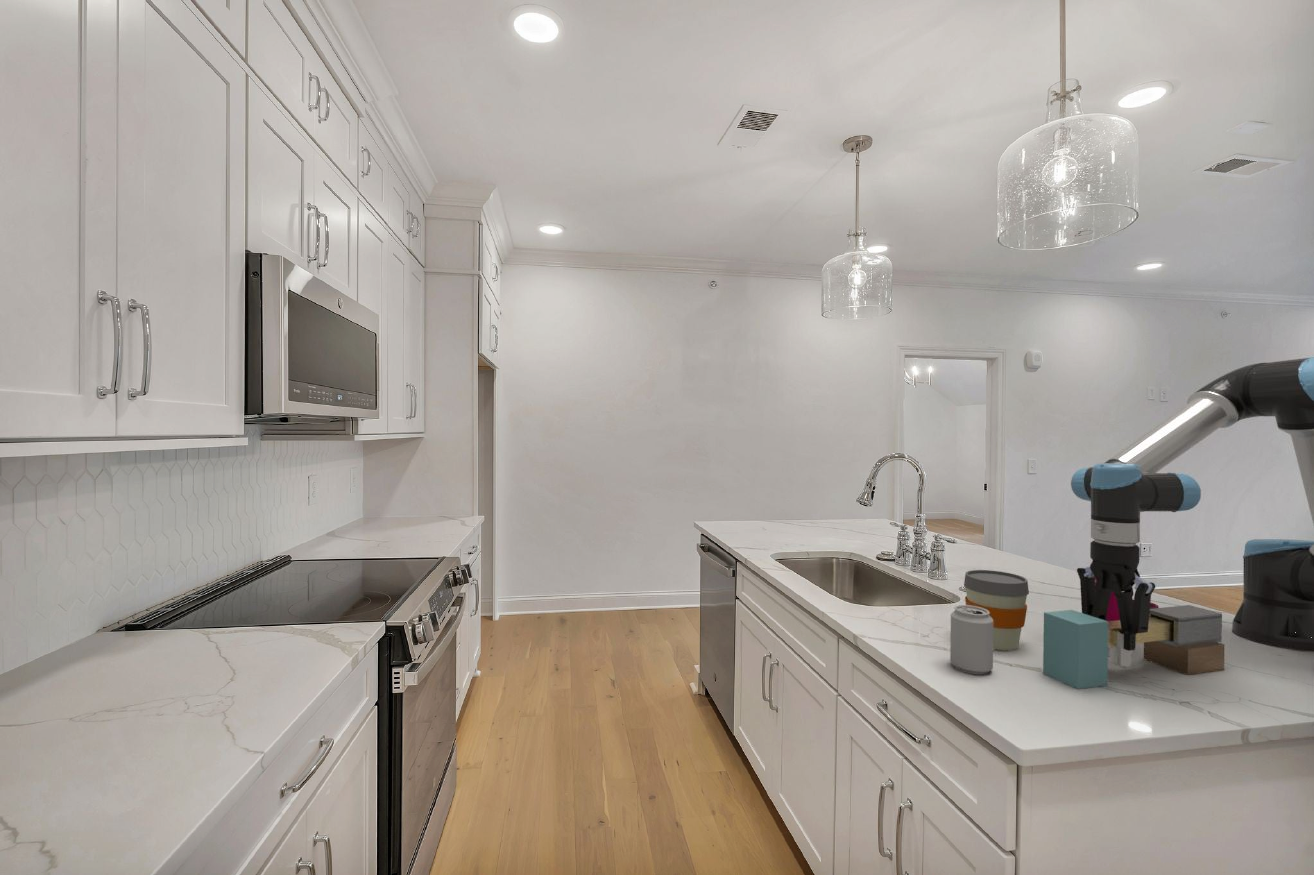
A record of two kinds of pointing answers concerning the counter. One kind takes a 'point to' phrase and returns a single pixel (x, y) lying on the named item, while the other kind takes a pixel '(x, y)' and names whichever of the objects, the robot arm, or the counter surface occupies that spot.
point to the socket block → (1075, 648)
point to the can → (971, 639)
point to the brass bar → (1156, 632)
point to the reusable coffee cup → (999, 603)
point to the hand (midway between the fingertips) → (1112, 660)
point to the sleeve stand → (1189, 640)
